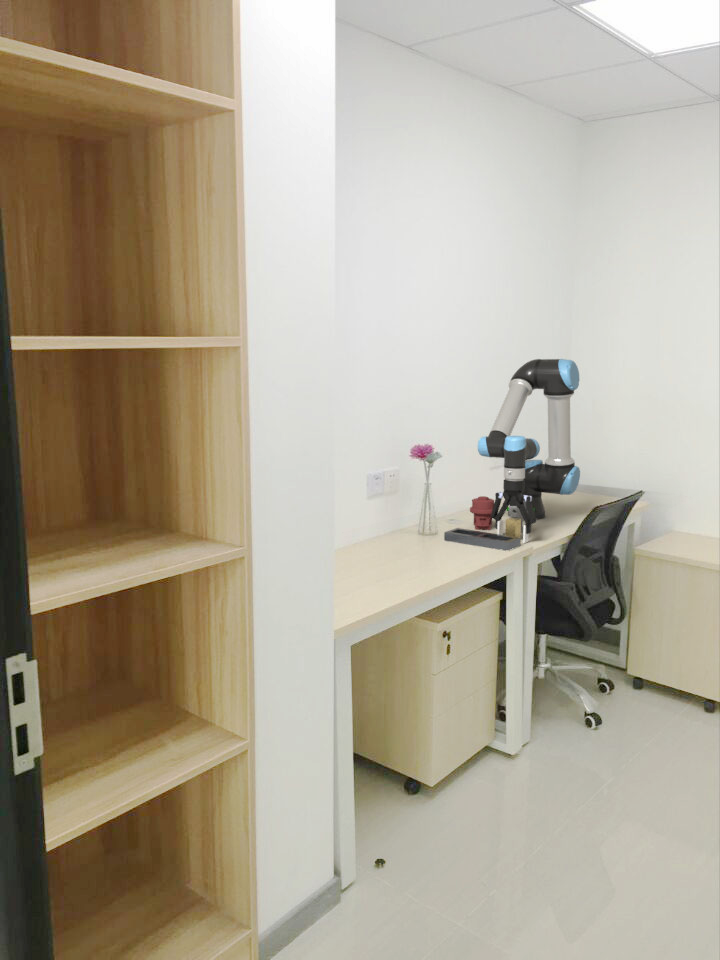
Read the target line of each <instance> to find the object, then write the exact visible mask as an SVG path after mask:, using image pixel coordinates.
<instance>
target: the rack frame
mask: <svg viewBox="0 0 720 960" xmlns="http://www.w3.org/2000/svg"><path fill="white" fill-rule="evenodd" d="M443 537H444V541H445V542H453V543H458V544H465V545H469V546H477V547H481V548H482V547H483V548H488V549H494V548H495V550H500V549H502V550H501V551H506V550H509V551H511V550H510V549H512V548H514V549H516V548H515V547H517V546H519V547H521V538H522V537H521V538H519V537H513V536H506V535H505V534H503V535H500V534H497V533H494V532H493V533H492V532H486V531H479V530H473V529H468V528H467V529H466V528H460V527H457V528H454V529H449V530H448V531H445V532H444V535H443ZM517 548H518V547H517ZM512 550H513V549H512Z"/></svg>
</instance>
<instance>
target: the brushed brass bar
mask: <svg viewBox="0 0 720 960" xmlns="http://www.w3.org/2000/svg"><path fill="white" fill-rule="evenodd" d="M504 531H505V534H504V535H506V536H513V537H519V538H522V537H521V535H522V533H521V519H517V518H513V517H509V518H505V530H504Z"/></svg>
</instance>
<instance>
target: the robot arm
mask: <svg viewBox="0 0 720 960" xmlns="http://www.w3.org/2000/svg"><path fill="white" fill-rule="evenodd" d="M579 385H580V371H579V368H578V365H577V363H576V362H575V361H574V360H571V359H566V358H565V359H564V358H560V359H559V358H550V359H549V358H545V359H544V358H543V359H540V358H536V359H532V360H529V361H527V362H526V363H524V364H523V365H522V366H520V367H519V368H517V370H516V372H515V373H514V374H513V375H512V377H511V379H510V381H509V383H508V388H509V389H508V391H507V394H506V396H505V398H504V400H503V403H502V405H501V408H500V409H499V411H498V414H497V416H496V419H494V422H493V425H492V428H491V430H490V431H489V434H488V436H486V435H485V436H482V437H480V438H479V440H477V441H478V442H477V452H478V454H479V455H480V456H481V457H486V458H496V459H497V458H498V459H500V458H501V459H503V460H504V461H503V463H504V464H503V487H502V489H503V492H502V491H498V492H496V493H495V500H494V506H493V510H492V514H491V518H492V520H494V521H495V530H497V532H496V534H500V535H504V534H503V533H504V530H503V529H504V520H503V519H502V518H503V517H504V515H505V513H506V512H507V516H508V517H509V518H517V517H511V516H510V515H509V511H507V508H508V507H509V506H517V508H519V510H520V513H521V515H522V517H523V519H524V521H523V522H524V523H525V524H522V543H523V544H526V543H529V540H530V539H529V534H531V531H532V525H533V524H536V523H537V520H539V519H543V518H545V517H546V509H545V505H544V502H543V499H542V495H543V493H545V494H546V493H547V494H553V495H555V494H556V495H560V496H563V495H568V496H569V495H572V494H574V493H575V491H576V490H577V488H578V486H579V483H580V479H581V478H580V477H581V470H580V467H579V466H578V465H575V460H574V459H573V458H572V457H571V397H572V396H573V395H574V394H575V390H577V389H578V388H579ZM534 390H543V396H544V397H545V398H546V399H547V440H548V444H547V446H548V456H547V458H546V459H545V460H544V462H543V459H534V458H536V457H537V456H539V455H540V451H541V450H540V449H541V447H540V443H539V442H538V441H537V440H536V439H535V438H527V437H525V436H523V435H511V434H512V433H513V430H514V428H515V425H516V424H517V421H518V420H519V416H520V414H521V412H522V410H523V408H524V405H525V403H526V400H527V398H528V397H529V396H530V395H532V393H533V391H534ZM503 498H504V501H503V503H502V499H503ZM501 503H502V505H501ZM534 508H535V512H534ZM527 511H528V513H527ZM512 512H514V513H515V512H516V510H515V509H514V510H513V511H512Z"/></svg>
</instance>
